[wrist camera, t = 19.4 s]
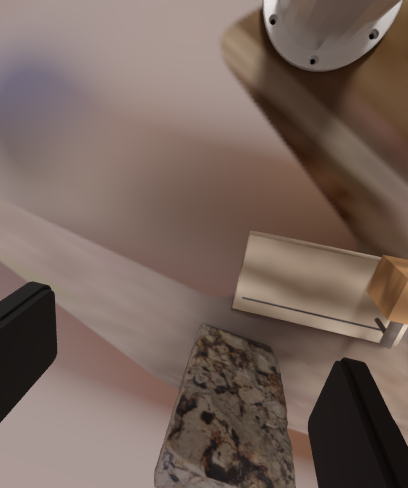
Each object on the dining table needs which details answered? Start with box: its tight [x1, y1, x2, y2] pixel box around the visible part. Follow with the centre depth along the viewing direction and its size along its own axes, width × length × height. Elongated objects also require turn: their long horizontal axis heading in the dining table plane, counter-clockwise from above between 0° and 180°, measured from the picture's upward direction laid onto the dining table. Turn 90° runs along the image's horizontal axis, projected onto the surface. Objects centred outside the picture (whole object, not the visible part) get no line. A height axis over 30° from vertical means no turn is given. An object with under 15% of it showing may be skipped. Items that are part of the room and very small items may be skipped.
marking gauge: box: [366, 255, 408, 348], centre depth 32 cm, size 9×4×6 cm, turn 170°
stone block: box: [154, 324, 296, 488], centre depth 35 cm, size 13×7×20 cm, turn 77°
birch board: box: [232, 230, 408, 347], centre depth 37 cm, size 11×22×2 cm, turn 80°
